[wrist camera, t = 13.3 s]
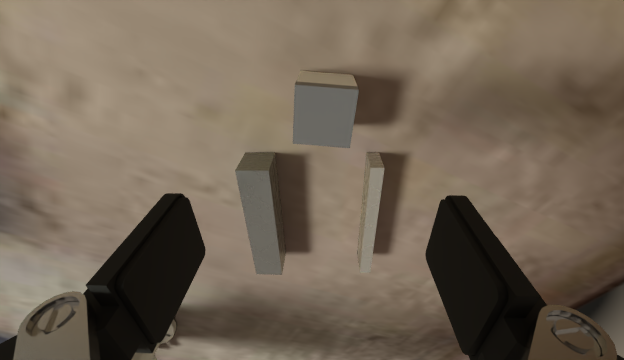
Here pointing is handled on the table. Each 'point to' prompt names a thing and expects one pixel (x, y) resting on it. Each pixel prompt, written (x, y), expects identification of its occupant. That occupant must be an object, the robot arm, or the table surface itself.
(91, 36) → the table surface
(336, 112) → the grey block
